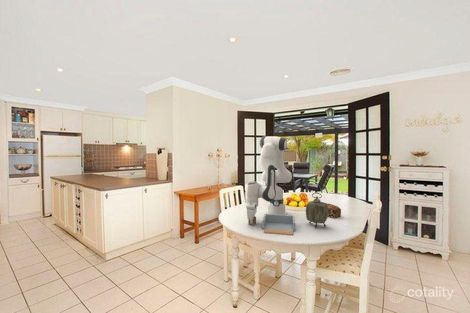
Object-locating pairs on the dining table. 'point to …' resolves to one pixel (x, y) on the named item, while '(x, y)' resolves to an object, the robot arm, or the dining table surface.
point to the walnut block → (253, 221)
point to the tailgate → (278, 231)
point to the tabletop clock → (316, 211)
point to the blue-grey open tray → (278, 222)
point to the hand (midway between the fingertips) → (252, 221)
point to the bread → (333, 211)
